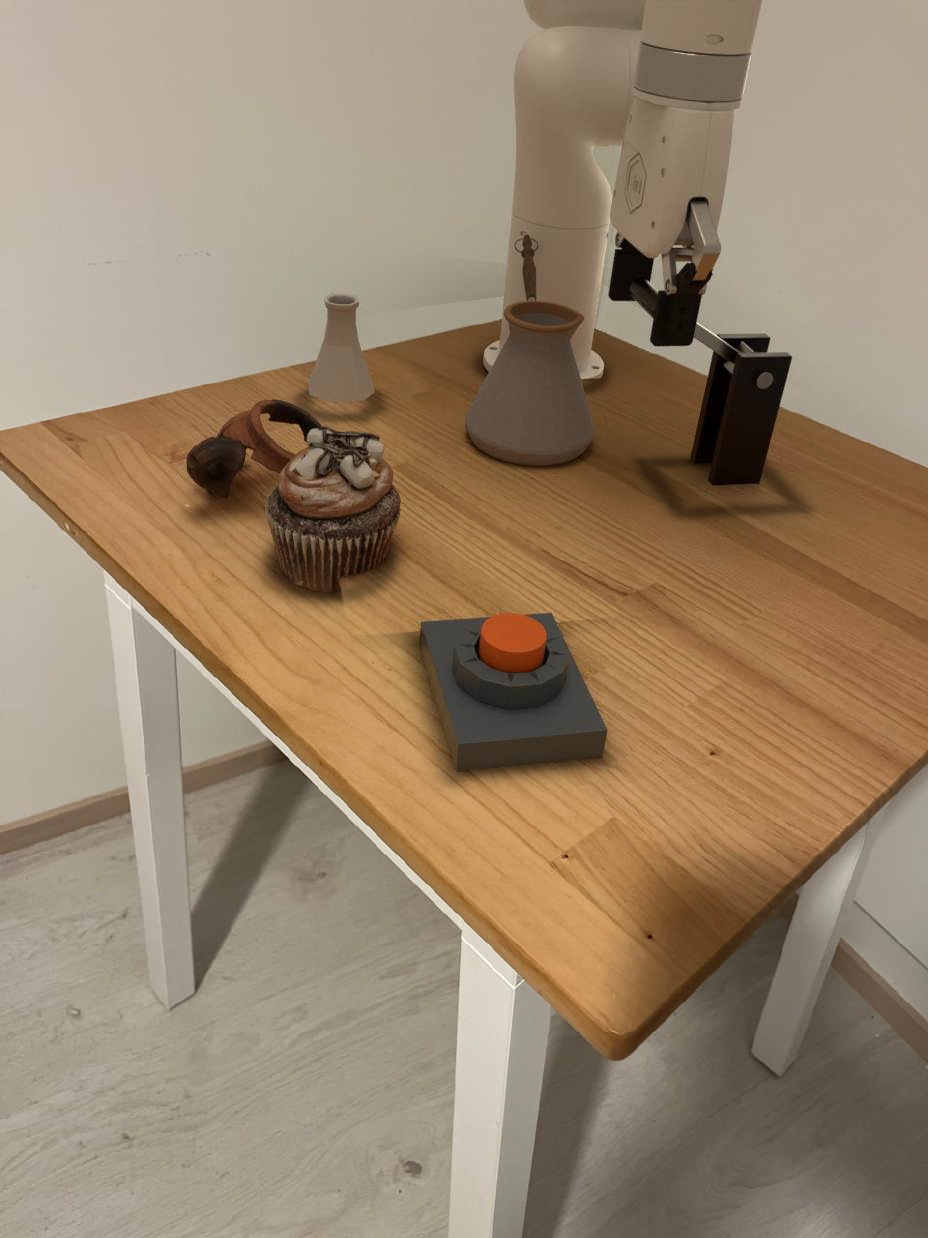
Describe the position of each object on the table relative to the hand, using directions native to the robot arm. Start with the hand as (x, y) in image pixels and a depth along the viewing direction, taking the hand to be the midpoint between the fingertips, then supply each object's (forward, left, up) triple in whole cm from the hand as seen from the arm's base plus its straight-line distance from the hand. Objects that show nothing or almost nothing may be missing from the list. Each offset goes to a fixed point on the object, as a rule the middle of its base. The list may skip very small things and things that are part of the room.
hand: (647, 320), depth 83 cm
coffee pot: (-12, -5, -15) cm, 20 cm away
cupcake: (+9, -25, -15) cm, 31 cm away
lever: (0, +4, -2) cm, 5 cm away
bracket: (0, +10, -15) cm, 18 cm away
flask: (-19, -21, -15) cm, 32 cm away
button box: (+26, -16, -15) cm, 34 cm away
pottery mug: (-2, -30, -15) cm, 34 cm away
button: (+26, -17, -11) cm, 33 cm away
